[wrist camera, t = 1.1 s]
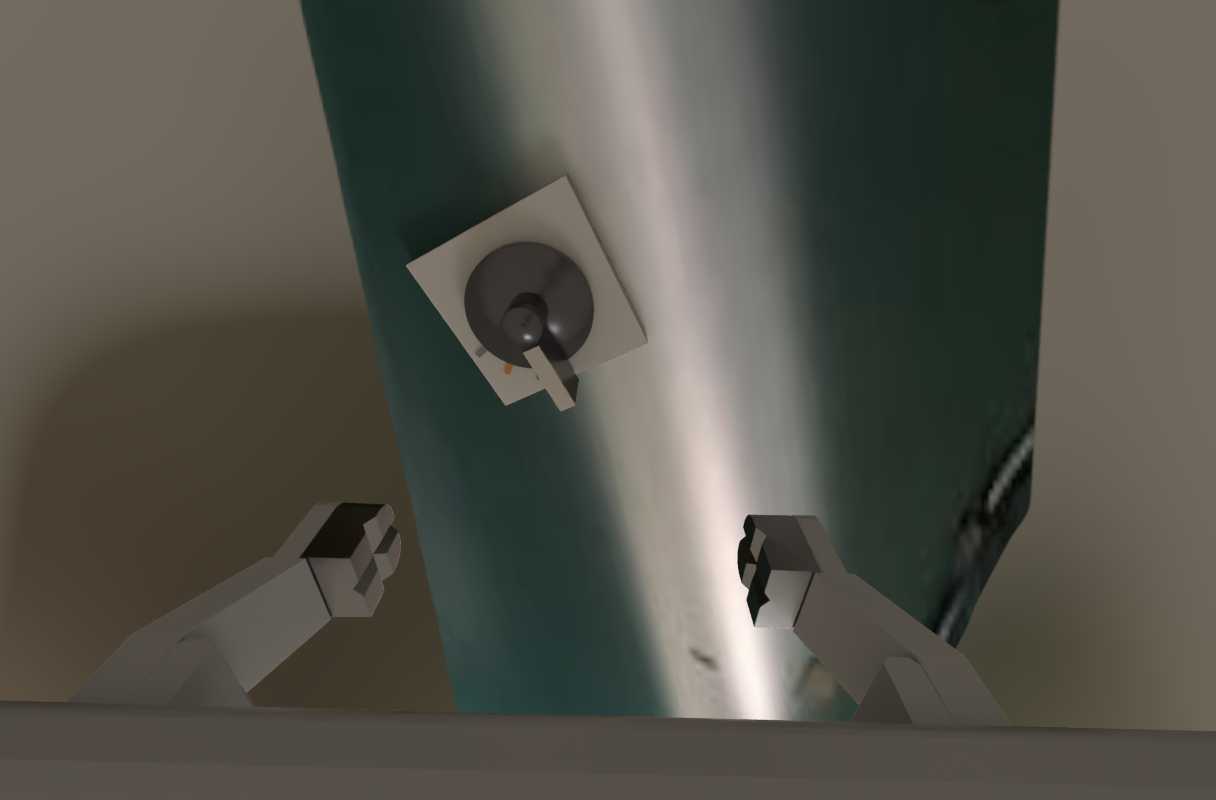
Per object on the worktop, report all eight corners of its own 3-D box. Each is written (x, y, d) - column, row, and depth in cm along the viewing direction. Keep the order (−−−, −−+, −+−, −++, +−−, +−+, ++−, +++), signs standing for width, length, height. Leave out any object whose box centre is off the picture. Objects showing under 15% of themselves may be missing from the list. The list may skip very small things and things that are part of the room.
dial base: (567, 173, 34) (565, 175, 32) (647, 335, 40) (648, 343, 38) (413, 260, 37) (405, 266, 36) (508, 397, 43) (505, 406, 42)
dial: (441, 278, 36) (417, 300, 32) (554, 217, 34) (544, 231, 29) (524, 398, 41) (512, 431, 37) (626, 353, 39) (627, 383, 35)
